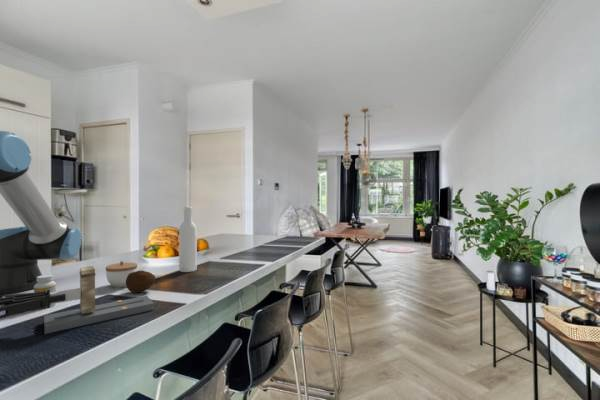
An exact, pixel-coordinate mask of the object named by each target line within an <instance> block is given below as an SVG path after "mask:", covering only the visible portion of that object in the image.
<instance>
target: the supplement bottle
mask: <svg viewBox="0 0 600 400" xmlns="http://www.w3.org/2000/svg"><path fill="white" fill-rule="evenodd" d="M37 282H38V283H36V284H35V285H34V289H33V293H35V292H43V291H46V293H47V290H50V293H52V292H57V283H56V281H54V275H53V274H42V276H38V277H37ZM56 304H57V303H55V304H50V308H51V307H54V306H55V305H56ZM43 309H48V308H47V307H46V308H42V309H41V310H43Z"/></svg>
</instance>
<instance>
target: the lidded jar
mask: <svg viewBox="0 0 600 400" xmlns="http://www.w3.org/2000/svg"><path fill="white" fill-rule="evenodd" d="M136 271H138V263H135V262H124V260H121V261H119V262H117V263H113V264H110V265H109V264H108V265H107V266H105V277H106V280H107V282H108V284H110V285H111V286H112V287H113V288H124V287H126V279H127V276H128V275H129V273H132V272H136Z"/></svg>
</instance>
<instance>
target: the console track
mask: <svg viewBox="0 0 600 400" xmlns="http://www.w3.org/2000/svg"><path fill="white" fill-rule="evenodd" d="M153 310H155V302H154V301H153V300H152V299H151V298H150V297H149V296H148V295H143V296H142V295H141V296H138V297H133V298H128V299H123V300H122V299H120V300H116V301H112V302H108V303H101V304H95V312H90V313H85V314H82V313H81V310H80V308H76V309H71V310H66V311H65V310H64V311H61V312H55V313H50V314H46V315H45V314H44V316H43V318H44V319H43V320H44V321H43V322H44V323H43V324H44V325H43V326H44V335H47V334H51V333H55V332H56V333H57V332H60V331H64V330H65V331H66V330H69V329H74V328H77V327H82V326H86V325H92V324H96V323H101V322H104V321H109V320H113V319H118V318H123V317H127V316H132V315H136V314H141V313H144V312H149V311H153Z"/></svg>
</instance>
